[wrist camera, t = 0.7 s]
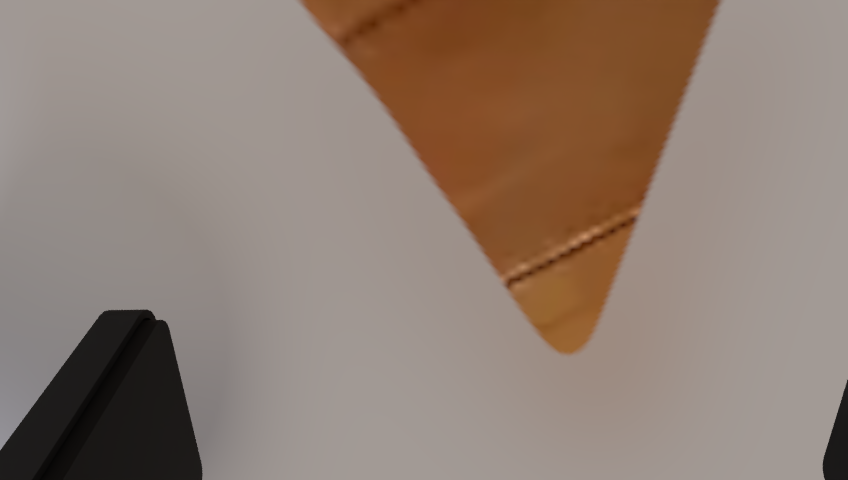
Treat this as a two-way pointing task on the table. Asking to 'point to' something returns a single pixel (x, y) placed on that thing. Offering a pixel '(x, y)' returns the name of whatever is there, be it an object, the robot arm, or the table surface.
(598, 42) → the table surface
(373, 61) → the table surface
